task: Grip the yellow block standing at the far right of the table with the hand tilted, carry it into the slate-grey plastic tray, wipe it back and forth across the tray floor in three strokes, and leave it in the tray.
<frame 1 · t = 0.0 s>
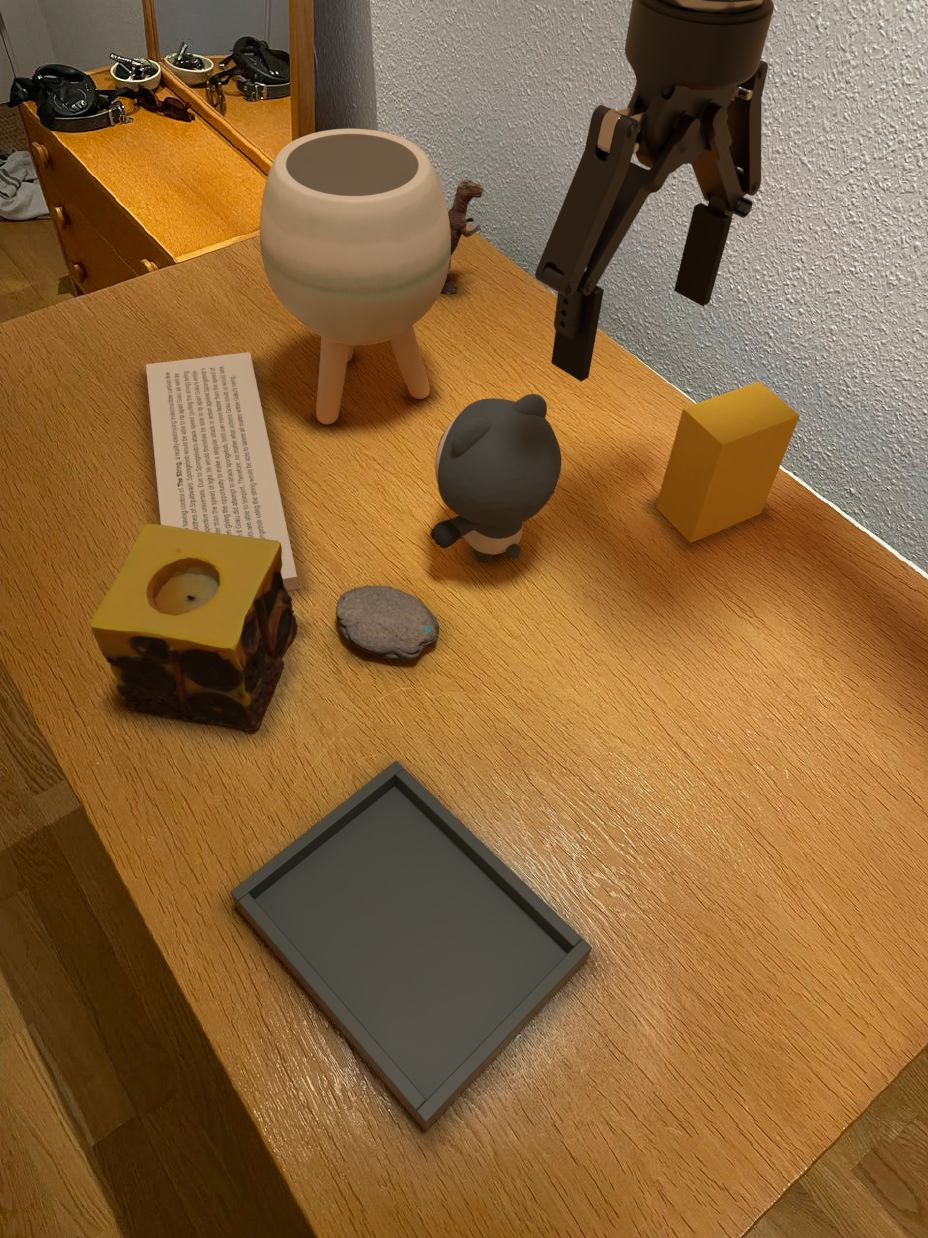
hand: (633, 332, 67), 20 cm above the dresser top, tool pointing down, fingers open, 13 cm apart
stone: (388, 631, 74), on the dresser top
tray: (409, 933, 59), on the dresser top
yellow block: (708, 510, 84), on the dresser top
planter: (363, 393, 93), on the dresser top
dinosaur model: (415, 291, 104), on the dresser top
plaque: (217, 474, 84), on the dresser top
candle: (215, 669, 71), on the dresser top
toy: (486, 549, 80), on the dresser top
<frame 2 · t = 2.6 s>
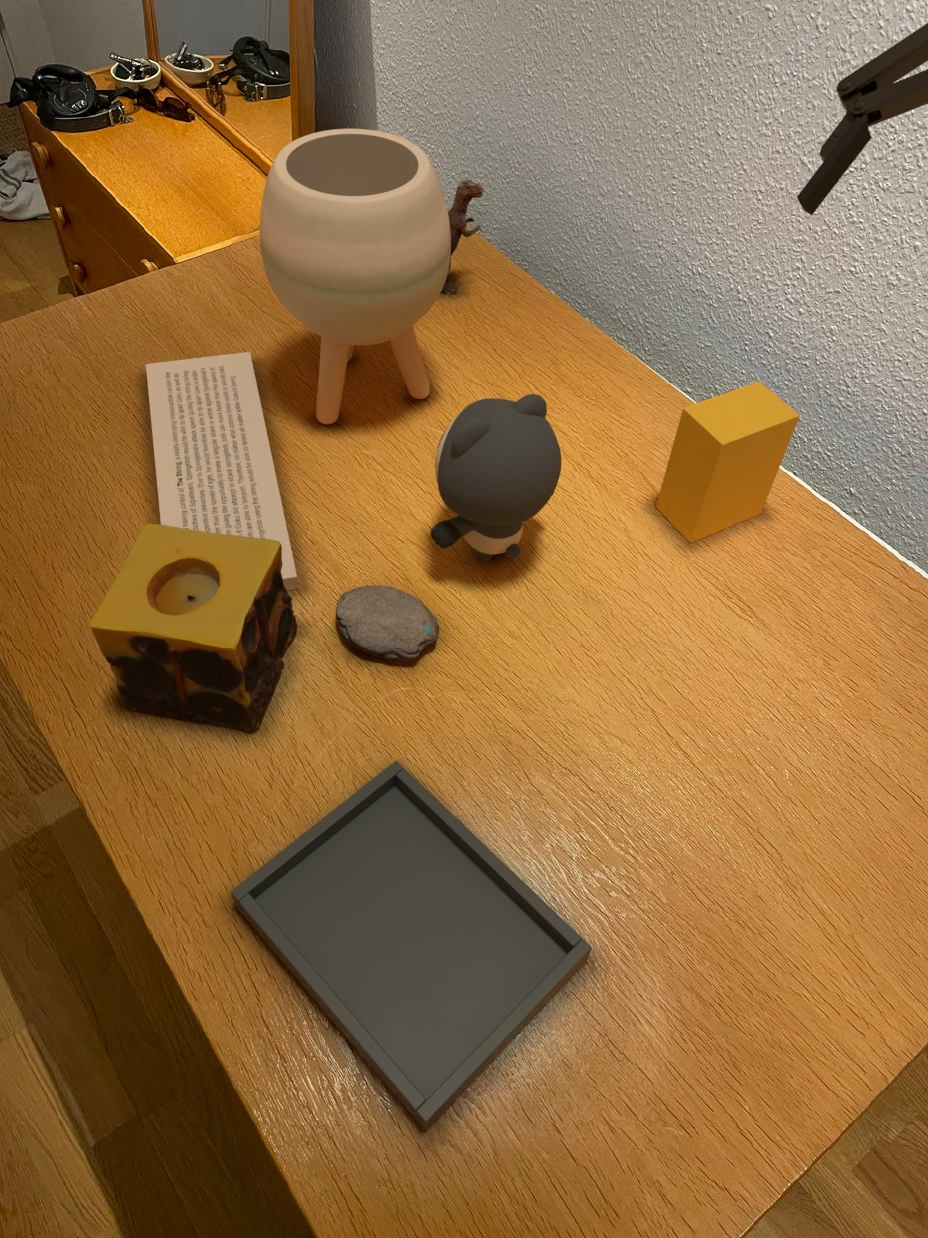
hand: (876, 251, 69), 23 cm above the dresser top, tool tilted 40°, fingers open, 13 cm apart
nothing on the dresser top moved.
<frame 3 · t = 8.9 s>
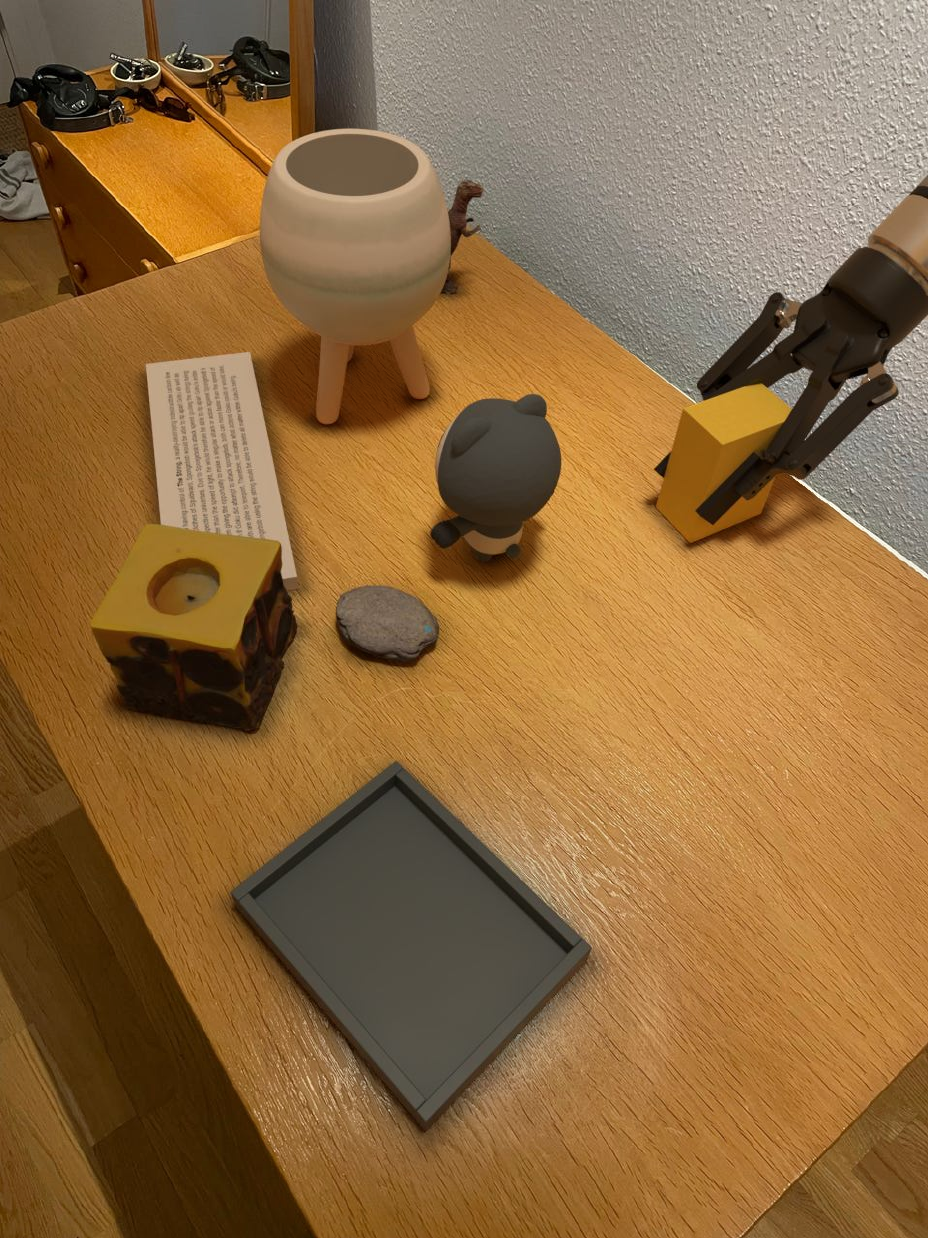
hand: (683, 496, 80), 3 cm above the dresser top, tool tilted 45°, fingers closed on yellow block, 5 cm apart
yellow block: (708, 510, 84), on the dresser top, touching gripper
everything else where it was.
when the fingers open (4 cm above the dresser top, at t = 25.9 s): yellow block stays where it is, resting on tray.
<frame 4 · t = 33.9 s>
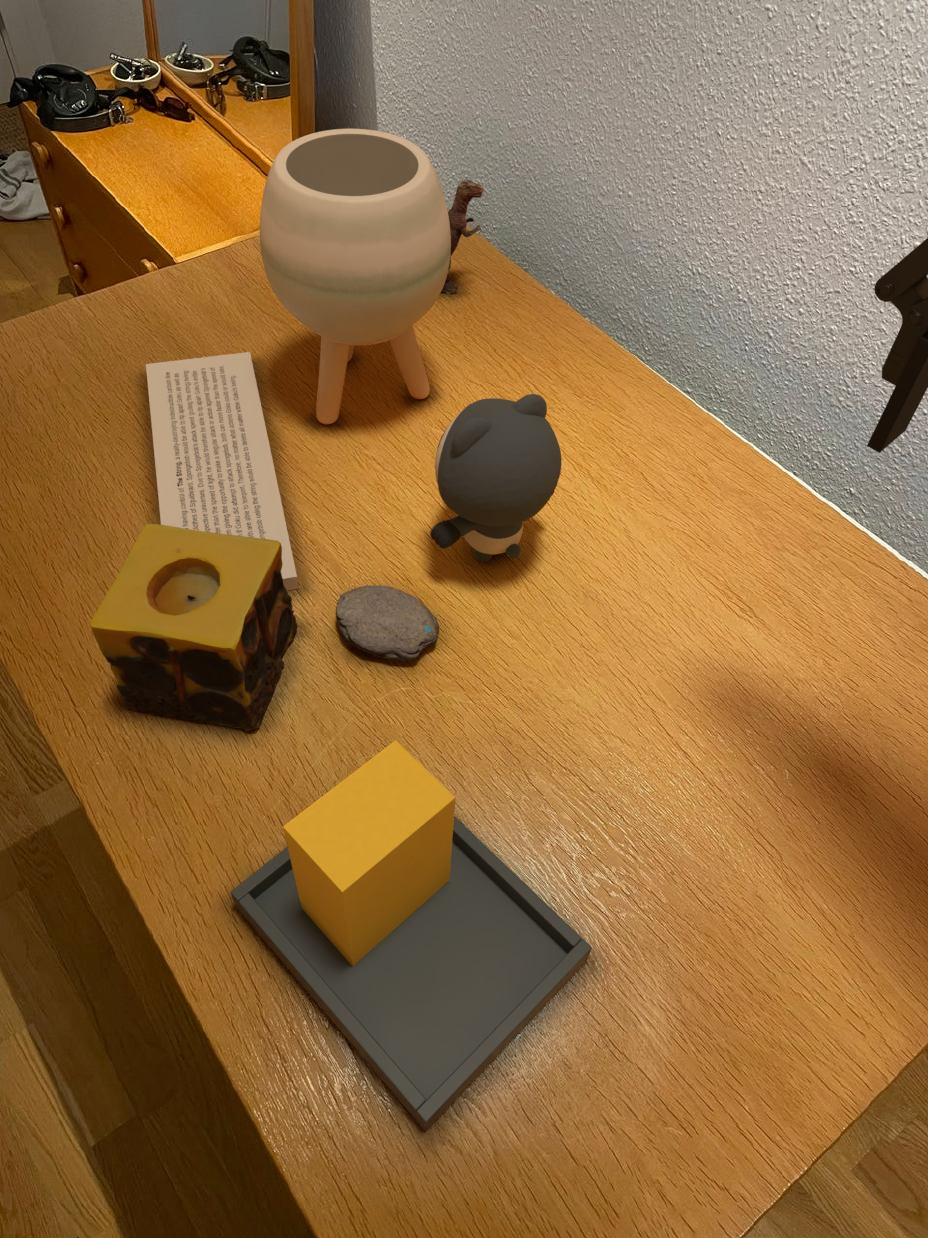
yellow block: (376, 894, 59), point 1 cm above the dresser top, touching tray
everything else where it was.
at the end: yellow block inside the target area in the tray (3.1 cm from its centre), point 0.8 cm above the tray's base; yellow block moved 45.6 cm from its start; the gripper is holding nothing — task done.
